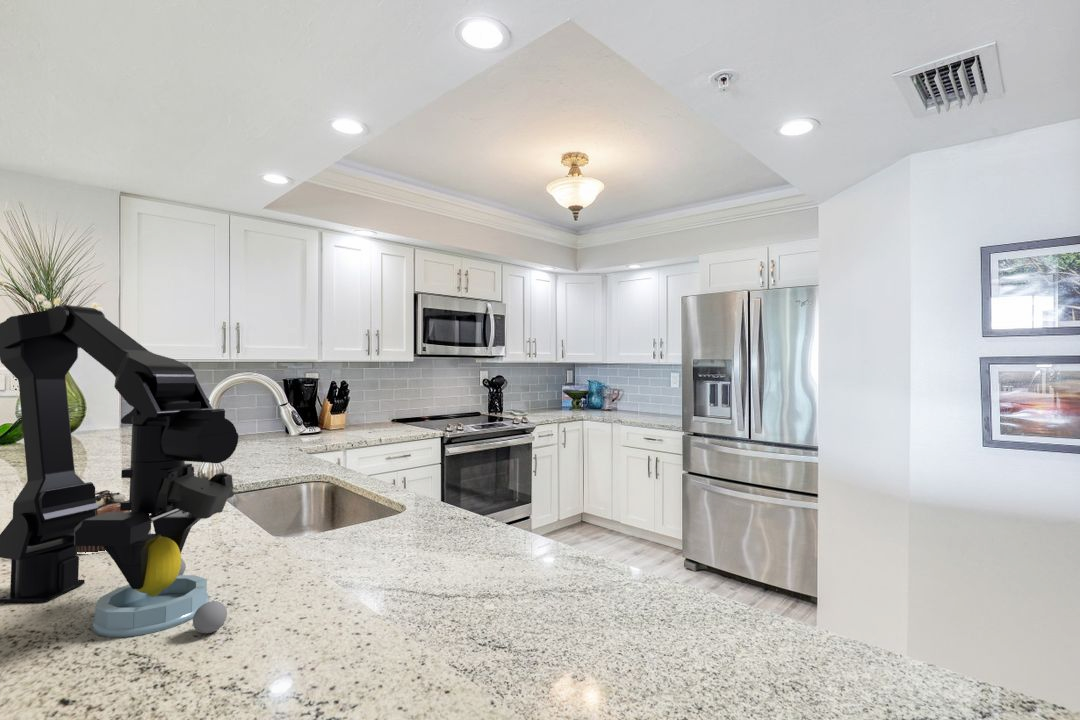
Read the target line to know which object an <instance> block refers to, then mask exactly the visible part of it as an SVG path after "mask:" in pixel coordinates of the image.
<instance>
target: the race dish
mask: <svg viewBox="0 0 1080 720" xmlns="http://www.w3.org/2000/svg"><path fill="white" fill-rule="evenodd" d="M207 584H208V579H207V578H205V577H202V576H198V575H195V574H183V575H178V576H177V578H176V579H175V581H174V582H173V583H172V584H171V585H170V586H169V587H167V588H166V589H164V590H162V591H161V592H160V593H159V594H158V595H157V596H155V597H151V596H150V595H148V594H147V593H141V592H139V591H137V590H136V589H132V588H131V586H130V585H129V584H126V585H122V586H120V587H117V588H115V589H114V590H111V591H110V592H108V593H106V594H104V595H102V596H100V597H99V599H98V600H97V602H96V604H95V605H94V618H93V620H92V630H93V632H94V633H95V634H96V635H98V636H101V637H106V638H130V637H136V636H144V635H149V634H152V633H157V632H160V631H165V630H168V629H170V628H174V627H176V626H180V625H182V624H184V623H186V622H188V621H191V620H193V617H194V614H195V612H196V611H197V609H198V608H199V607H200V606H202V605H203V604H205V603H207V602H210V597H209V594H208V593H207V586H208V585H207Z"/></svg>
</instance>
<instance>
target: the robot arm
mask: <svg viewBox="0 0 1080 720" xmlns="http://www.w3.org/2000/svg"><path fill="white" fill-rule="evenodd" d="M80 348H81V349H82V350H83V351H84V352H86V354H88V355H89V356H90V357H91V358H93V359H94V360H95V361H96V362H98V363H99V364H100V365H101V366H103V367H104V368H105V369H107V370H108V371H109V372H110V373H111V374H112V375H113V376H114V378H115V380H114V385H113V387H114V389H116V391H117V392H118V393H119V395H120V396H121V397H122V398H123V399H124V401H125V403H127V404H128V405H129V406H130V407H131V408H133V409H131V411H129V412H128V413H127V414H125V415H123V417H122V418H121V419H120V423H121V424H124V425H131V440H130V441H131V442H130V443H131V444H130V445H131V446H130V447H131V449H130V467H128V468H124V469H121V479H129V499H128V500H125V501H124V502H121V503H120V511H131V512H106V513H103V514H100V515H97V510H98V506H97V504H96V499H95V496H96V495H95V493H96V486H95V484H93V482H91V481H89V482H84V480H83V479H81V478H80V477H79V476H78V475H77V473H76V469H75V460H74V459H75V458H74V449H73V441H72V440H73V439H72V430H71V420H70V411H69V410H70V409H69V401H68V400H69V398H68V389H67V378H66V377H67V374H68V373H69V372H70V370H71V369H72V367H73V366H74V364H75V363H76V362H77V360H78V358H79V349H80ZM0 363H1V365H2V366H4V367H5V369H7V370H8V371H9V372H10V373H11V374H12V375H13V376H14V377H15V379H17V381H18V391H19V400H20V410H21V411H20V412H21V422H22V423H21V424H22V434H23V435H22V436H23V447H24V455H25V465H26V467H25V468H26V476H27V478H26V481H27V482H26V483H25V485H24V486H23V488H22V490H21V491H20V492H19V494H18V495H17V497H16V499H15V500H14V502H13V503H12V519H11V520H10V521H9V523H7V525H6V526H5V527H4V529H3V530H2V532H0V558H1V559H8V560H11V563H10V565H11V566H10V583H9V584H10V588H9V589H10V592H9V593H8V594H5V595H3V596H1V597H0V603H31V602H33V603H34V602H35V603H38V602H42V603H43V602H48V601H51V600H53V599H54V598H57V597H59V596H61V595H63V594H65V593H67V592H69V591H71V590H74V589H75V588H77V587H80V586H82V585H84V584H85V579H79V570H80V569H79V568H80V567H79V565H80V557H79V556H78V554H77V546H103V548H104V549H105V550H106V551H107V552H106V553H107V554H108V555H109V556H110V557H111V559H112V560H113V561H114V563H115V565H116V566H117V568H118V569H119V571H120V573H122V575H123V577H124V578H125V580H126V582H127V583H128V585H130V586H131V588H132V589H141V588H142V587H143V585H144V580H145V575H146V568H147V560H148V552H149V547H150V545H151V544H152V543H153V542H154V541H155V540H156V539H157V538H158V537H159V536H160V535H161V536H162V537H167V538H170V539H172V540H173V541H174V542H175V543H176V544H177V545H178V547H179V550H180V554H182V551H183V549H184V545H185V543H186V541H187V538H188V536H189V533H190V532H191V529H192V528H193V527H194V526H195V525H196V524H198V522H199V521H200V520H202V519H203V520H205V519H209V518H211V517H212V516H213V515H215V514H217V513H219V514H220V513H222V512H223V511H224V508H225V506H226V503H227V501H228V499H231V498H233V497H234V496H235V492H234V491H233V490H234V483H233V482H234V481H233V475H232V474H229V473H227V472H224V471H222V472H219V473H216V474H214V475H212V477H211V478H209V477H208V476H205V477H199V476H196V475H195V467H194V466H193V462H194V463H195V462H196V463H206V464H220V463H223V462H226V460H228V459H230V458H231V457H232V455H233V454H234V453H235V451H236V449H237V446H238V443H239V433H238V432H237V429H236V427H235V425H234V423H233V422H232V421H231V420H229V419H227V418H226V410H225V408H213V407H212V405H211V403H210V402H211V401H210V400H209V398H208V397H207V396H206V394H205V392H204V390H203V388H202V386H201V385H200V382H199V381H198V379H197V375H196V372H195V371H194V370H193V369H192V368H191V367H190V366H189V365H188V364H185V363H183V362H181V361H179V360H177V359H174V358H172V357H167V356H164V355H161V354H157V353H154V352H152V351H151V350H150V351H149V350H148V349H146V348H145V347H144V346H143V345H142V344H140V342H138V341H136V340H135V339H134V338H132V337H131V336H129V335H128V334H127V333H126V332H124V331H123V330H122V329H121V328H119V327H118V326H117V325H115V324H114V323H113V322H112V321H110V320H109V319H108V318H106V316H105V314H104V313H103V311H101V310H99V309H96V308H95V307H86V306H79V305H69V304H62V305H57V306H54V307H51V308H49V309H46V310H41V311H35V312H29V313H23V314H18V315H13V316H9V317H8V318H6V320H4V321H3V322H0ZM186 462H191V463H186ZM152 526H153V531H154V533H152Z"/></svg>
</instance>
